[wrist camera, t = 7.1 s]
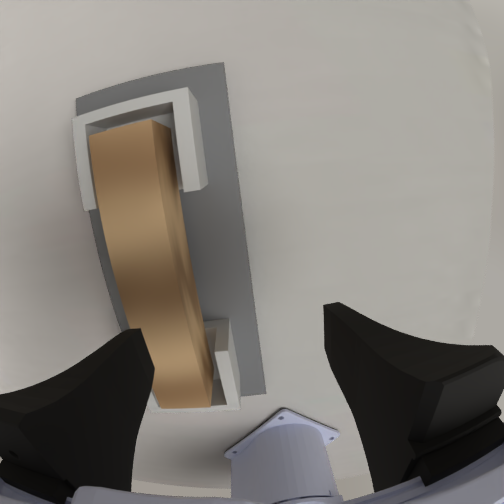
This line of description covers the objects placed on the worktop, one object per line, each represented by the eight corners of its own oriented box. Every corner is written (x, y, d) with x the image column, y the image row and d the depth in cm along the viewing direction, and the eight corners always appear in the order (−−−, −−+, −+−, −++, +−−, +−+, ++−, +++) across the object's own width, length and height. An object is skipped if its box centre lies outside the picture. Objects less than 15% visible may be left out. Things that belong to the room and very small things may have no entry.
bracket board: (265, 385, 23) (270, 427, 19) (151, 393, 23) (139, 432, 19) (224, 67, 16) (220, 39, 12) (82, 101, 16) (45, 89, 12)
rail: (214, 368, 20) (210, 407, 16) (171, 370, 20) (161, 408, 16) (170, 128, 16) (151, 119, 12) (119, 140, 16) (88, 135, 12)
